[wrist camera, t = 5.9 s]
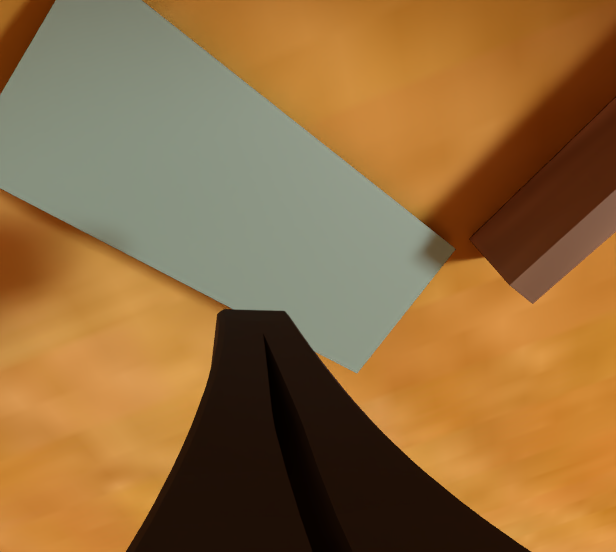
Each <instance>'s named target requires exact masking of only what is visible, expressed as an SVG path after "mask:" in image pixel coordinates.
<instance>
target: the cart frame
mask: <svg viewBox="0 0 616 552" xmlns="http://www.w3.org/2000/svg"><path fill="white" fill-rule="evenodd" d="M615 232H616V98H615V99H614V100H613V101H611V102H610V103H609V104H608V105H607V106H606V107H605V108H604V109H603V110H602V111H601V112H600V113H599V114H598V115H597V116H596V117H595V118H594V119H593V120H592V121H591V122H590V123H589V124H588V125H587V126H586V127H585V128H584V129H583V130H582V131H581V132H579V133H578V134H577V135H576V136H575V137H574V138H573V139H572V140H571V141H570V142H569V143H568V144H567V145H566V146H565V147H564V148H563V149H562V150H561V151H560V152H559V153H558V154H557V155H556V156H555V157H554V158H553V159H552V160H551V161H550V162H549V163H547V164H546V165H545V166H544V167H543V168H542V169H541V170H540V171H539V172H538V173H537V174H536V175H535V176H534V177H533V178H532V179H531V180H530V181H529V182H528V183H527V184H526V185H525V186H524V187H523V188H522V189H521V190H520V191H519V192H518V193H517V194H516V195H514V196H513V197H512V198H511V199H510V200H509V201H508V202H507V203H506V204H505V205H504V206H503V207H502V208H501V209H500V210H499V211H498V212H497V213H496V214H495V215H494V216H493V217H492V218H491V219H490V220H489V221H488V222H487V223H486V224H485V225H484V226H482V227H481V228H480V229H479V230H478V231H477V232H476V233H475V234H474V235H473V236H472V237H471V238H470V239H469V240H470V241H471V242H472V243H473V244H474V245H475V247H476V248H477V249H478V250H479V251H480V252H481V253H482V255H483V256H484V257H485V258H486V259H487V260H488V261H489V262H490V264H491V265H492V266H493V267H494V268H495V269H496V270H497V272H498V273H499V274H500V275H501V276H502V277H503V278H504V280H505V281H506V282H507V283H508V284H509V285H510V286H511V287H512V288H514V289H515V290H516V291H517V292H519V293H520V294H521V295H522V296H524V297H525V298H526V299H527V300H529V301H530V302H531V303H532V304H533V303H534V302H535V301H537V300H538V299H539V298H540V297H541V296H542V295H543V294H545V293H546V292H547V291H548V290H549V289H550V288H552V287H553V286H554V285H555V284H556V283H557V282H558V281H560V280H561V279H562V278H563V277H564V276H565V275H566V274H568V273H569V272H570V271H571V270H572V269H573V268H574V267H576V266H577V265H578V264H579V263H580V262H581V261H583V260H584V259H585V258H586V257H587V256H588V255H589V254H591V253H592V252H593V251H594V250H595V249H596V248H597V247H599V246H600V245H601V244H602V243H603V242H604V241H606V240H607V239H608V238H609V237H610V236H611V235H612V234H614V233H615Z"/></svg>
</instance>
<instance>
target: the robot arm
mask: <svg viewBox="0 0 616 552" xmlns="http://www.w3.org/2000/svg"><path fill="white" fill-rule="evenodd" d="M126 552H531V551H529V550H528V549H526V548H525V547H523V546H522V545H520V544H519V543H517V542H516V541H514V540H513V539H512V538H510V537H509V536H507V535H506V534H505V533H503V532H502V531H500V530H499V529H498V528H496V527H495V526H493V525H492V524H490V523H489V522H488V521H486V520H485V519H483V518H482V517H481V516H479V515H478V514H477V513H475V512H474V511H473V510H471V509H470V508H469V507H468V506H466V505H465V504H464V503H462V502H461V501H460V500H458V499H457V498H456V497H455V496H454V495H452V494H451V493H450V492H449V491H447V490H446V489H445V488H444V487H443V486H441V485H440V484H439V483H438V482H436V481H435V480H434V479H433V478H432V477H430V476H429V475H428V474H427V473H426V472H424V471H423V470H422V469H421V468H420V467H419V466H418V465H416V464H415V463H414V462H413V461H412V460H411V459H410V458H409V457H408V456H407V455H406V454H404V453H403V452H402V451H401V450H400V449H399V448H398V447H397V446H396V445H395V444H394V443H393V442H392V441H391V440H390V439H389V438H388V437H387V436H386V435H385V434H384V433H383V432H382V431H381V430H380V429H379V428H378V427H377V426H376V425H375V424H374V423H373V422H372V421H371V420H370V419H369V417H368V416H367V415H366V414H365V413H364V412H363V411H362V410H361V409H360V407H359V406H358V405H357V404H356V403H355V402H354V401H353V399H352V398H351V397H350V396H349V395H348V394H347V392H346V391H345V390H344V389H343V388H342V386H341V385H340V384H339V383H338V381H337V380H336V379H335V378H334V376H333V375H332V374H331V373H330V371H329V370H328V369H327V368H326V366H325V365H324V364H323V362H322V361H321V360H320V358H319V357H318V356H317V354H316V353H315V352H314V350H313V349H312V348H311V346H310V345H309V343H308V342H307V341H306V339H305V338H304V336H303V335H302V334H301V332H300V331H299V329H298V328H297V326H296V325H295V324H294V322H293V321H292V319H291V318H290V316H289V315H288V314H287V313H286V312H285V311H273V310H235V309H223V310H222V311H221V312H219V313H218V314H217V321H216V330H215V338H214V347H213V356H212V364H211V370H210V374H209V378H208V381H207V385H206V388H205V391H204V393H203V396H202V399H201V402H200V404H199V407H198V410H197V412H196V415H195V418H194V421H193V423H192V425H191V428H190V430H189V433H188V435H187V437H186V440H185V442H184V444H183V446H182V449H181V451H180V453H179V455H178V457H177V459H176V461H175V464H174V466H173V468H172V470H171V472H170V474H169V476H168V478H167V480H166V481H165V483H164V485H163V487H162V489H161V491H160V493H159V495H158V497H157V499H156V501H155V503H154V504H153V506H152V508H151V510H150V512H149V514H148V515H147V517H146V519H145V521H144V522H143V524H142V526H141V528H140V529H139V531H138V532H137V534H136V536H135V537H134V539H133V541H132V542H131V544H130V546H129V547H128V549H127V551H126Z"/></svg>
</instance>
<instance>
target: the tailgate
mask: <svg viewBox="0 0 616 552" xmlns="http://www.w3.org/2000/svg"><path fill="white" fill-rule="evenodd" d="M0 189H2V190H4V191H6V192H8V193H10V194H12V195H14V196H16V197H18V198H20V199H22V200H24V201H25V202H27V203H29V204H31V205H33V206H35V207H37V208H39V209H41V210H43V211H45V212H47V213H49V214H51V215H52V216H54V217H56V218H58V219H60V220H62V221H64V222H66V223H68V224H70V225H72V226H74V227H76V228H78V229H79V230H81V231H83V232H85V233H87V234H89V235H91V236H93V237H95V238H97V239H99V240H101V241H103V242H105V243H106V244H108V245H110V246H112V247H114V248H116V249H118V250H120V251H122V252H124V253H126V254H128V255H130V256H132V257H133V258H135V259H137V260H139V261H141V262H143V263H145V264H147V265H149V266H151V267H153V268H155V269H157V270H159V271H160V272H162V273H164V274H166V275H168V276H170V277H172V278H174V279H176V280H178V281H180V282H182V283H184V284H186V285H187V286H189V287H191V288H193V289H195V290H197V291H199V292H201V293H203V294H205V295H207V296H209V297H211V298H213V299H214V300H216V301H218V302H220V303H222V304H224V305H226V306H228V307H230V308H232V309H235V310H273V311H285V312H286V313H287V314H288V315H289V316H290V318H291V319H292V321H293V322H294V324H295V325H296V326H297V328H298V329H299V331H300V332H301V334H302V335H303V336H304V338H305V339H306V341H307V342H308V343H309V345H310V346H311V348H312V349H313V350H314V351H315V352H317V353H319V354H321V355H322V356H324V357H326V358H328V359H330V360H332V361H334V362H336V363H338V364H340V365H342V366H344V367H346V368H348V369H349V370H351V371H353V372H355V373H358V372H359V370H360V369H361V368H362V367H363V365H364V364H365V363H366V362H367V360H368V359H369V358H370V356H371V355H372V354H373V353H374V351H375V350H376V349H377V348H378V346H379V345H380V344H381V343H382V341H383V340H384V339H385V338H386V336H387V335H388V334H389V333H390V331H391V330H392V329H393V328H394V326H395V325H396V324H397V322H398V321H399V320H400V319H401V317H402V316H403V315H404V314H405V312H406V311H407V310H408V309H409V307H410V306H411V305H412V304H413V302H414V301H415V300H416V299H417V297H418V296H419V295H420V294H421V292H422V291H423V290H424V288H425V287H426V286H427V285H428V283H429V282H430V281H431V280H432V278H433V277H434V276H435V275H436V273H437V272H438V271H439V270H440V268H441V267H442V266H443V265H444V263H445V262H446V261H447V260H448V258H449V257H450V256H451V254H452V253H453V252H454V251H455V248H454V247H453V246H451V245H450V244H449V243H448V242H446V241H445V240H444V239H443V238H441V237H440V236H439V235H437V234H436V233H435V232H434V231H432V230H431V229H430V228H429V227H427V226H426V225H425V224H424V223H422V222H421V221H420V220H419V219H417V218H416V217H415V216H413V215H412V214H411V213H410V212H408V211H407V210H406V209H405V208H403V207H402V206H401V205H400V204H398V203H397V202H396V201H395V200H393V199H392V198H391V197H389V196H388V195H387V194H386V193H384V192H383V191H382V190H381V189H379V188H378V187H377V186H376V185H374V184H373V183H372V182H371V181H369V180H368V179H367V178H365V177H364V176H363V175H362V174H360V173H359V172H358V171H357V170H355V169H354V168H353V167H352V166H350V165H349V164H348V163H346V162H345V161H344V160H343V159H341V158H340V157H339V156H338V155H336V154H335V153H334V152H333V151H331V150H330V149H329V148H328V147H326V146H325V145H324V144H322V143H321V142H320V141H319V140H317V139H316V138H315V137H314V136H312V135H311V134H310V133H309V132H307V131H306V130H305V129H304V128H302V127H301V126H300V125H298V124H297V123H296V122H295V121H293V120H292V119H291V118H290V117H288V116H287V115H286V114H285V113H283V112H282V111H281V110H280V109H278V108H277V107H276V106H274V105H273V104H272V103H271V102H269V101H268V100H267V99H266V98H264V97H263V96H262V95H261V94H259V93H258V92H257V91H256V90H254V89H253V88H252V87H250V86H249V85H248V84H247V83H245V82H244V81H243V80H242V79H240V78H239V77H238V76H237V75H235V74H234V73H233V72H232V71H230V70H229V69H228V68H226V67H225V66H224V65H223V64H221V63H220V62H219V61H218V60H216V59H215V58H214V57H213V56H211V55H210V54H209V53H208V52H206V51H205V50H204V49H202V48H201V47H200V46H199V45H197V44H196V43H195V42H194V41H192V40H191V39H190V38H189V37H187V36H186V35H185V34H184V33H182V32H181V31H180V30H178V29H177V28H176V27H175V26H173V25H172V24H171V23H170V22H168V21H167V20H166V19H165V18H163V17H162V16H161V15H160V14H158V13H157V12H156V11H154V10H153V9H152V8H151V7H149V6H148V5H147V4H146V3H144V2H143V1H142V0H56V1H55V3H54V4H53V6H52V8H51V9H50V11H49V13H48V15H47V16H46V18H45V20H44V21H43V23H42V25H41V26H40V28H39V30H38V32H37V33H36V35H35V37H34V38H33V40H32V42H31V43H30V45H29V47H28V49H27V50H26V52H25V54H24V55H23V57H22V59H21V60H20V62H19V64H18V66H17V67H16V69H15V71H14V72H13V74H12V76H11V77H10V79H9V81H8V83H7V84H6V86H5V88H4V89H3V91H2V93H1V94H0Z"/></svg>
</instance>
